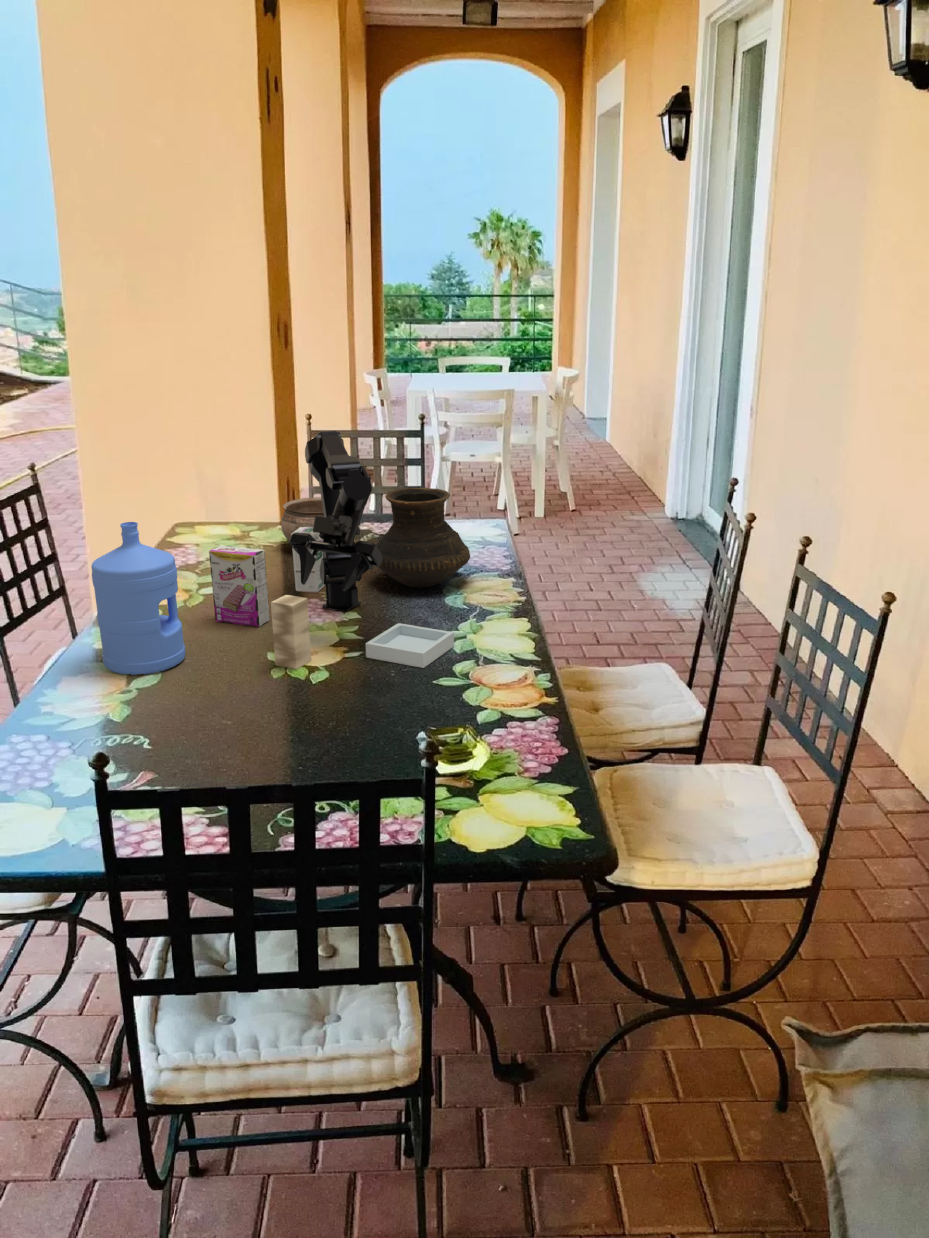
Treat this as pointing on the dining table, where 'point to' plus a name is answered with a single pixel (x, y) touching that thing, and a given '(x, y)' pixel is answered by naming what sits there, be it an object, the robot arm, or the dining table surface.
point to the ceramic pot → (420, 539)
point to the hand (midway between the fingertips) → (322, 587)
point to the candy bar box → (239, 585)
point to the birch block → (291, 631)
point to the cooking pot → (300, 514)
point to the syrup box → (314, 578)
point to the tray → (410, 645)
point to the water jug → (137, 607)
